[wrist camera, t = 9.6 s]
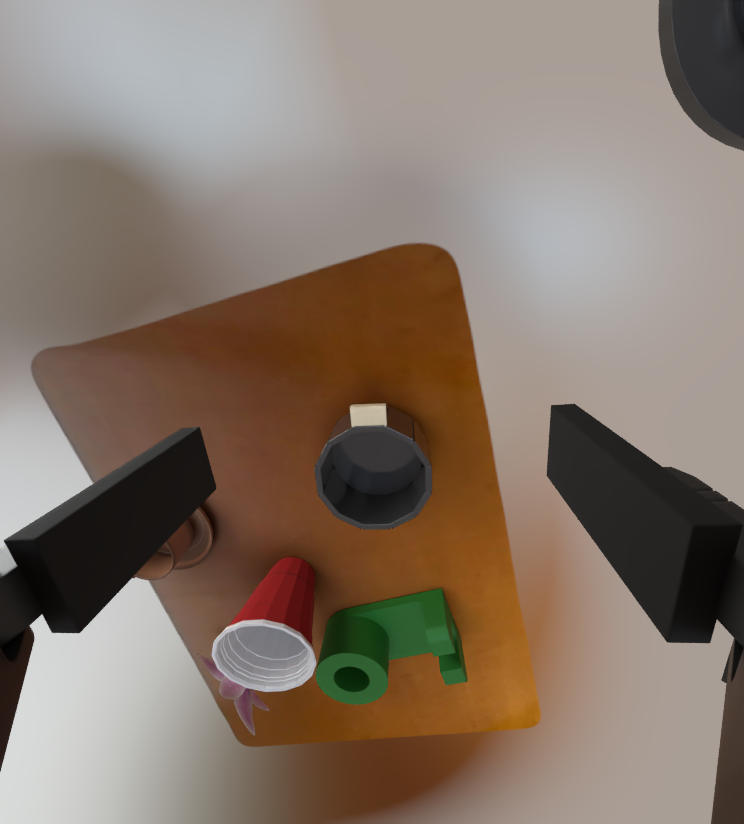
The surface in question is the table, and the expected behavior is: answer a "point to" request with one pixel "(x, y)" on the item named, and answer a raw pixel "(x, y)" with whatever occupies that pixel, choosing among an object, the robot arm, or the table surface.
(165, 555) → the cup and saucer
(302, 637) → the plastic cup
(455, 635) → the green bracket
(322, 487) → the cooking pot
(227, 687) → the lily
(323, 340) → the table surface
